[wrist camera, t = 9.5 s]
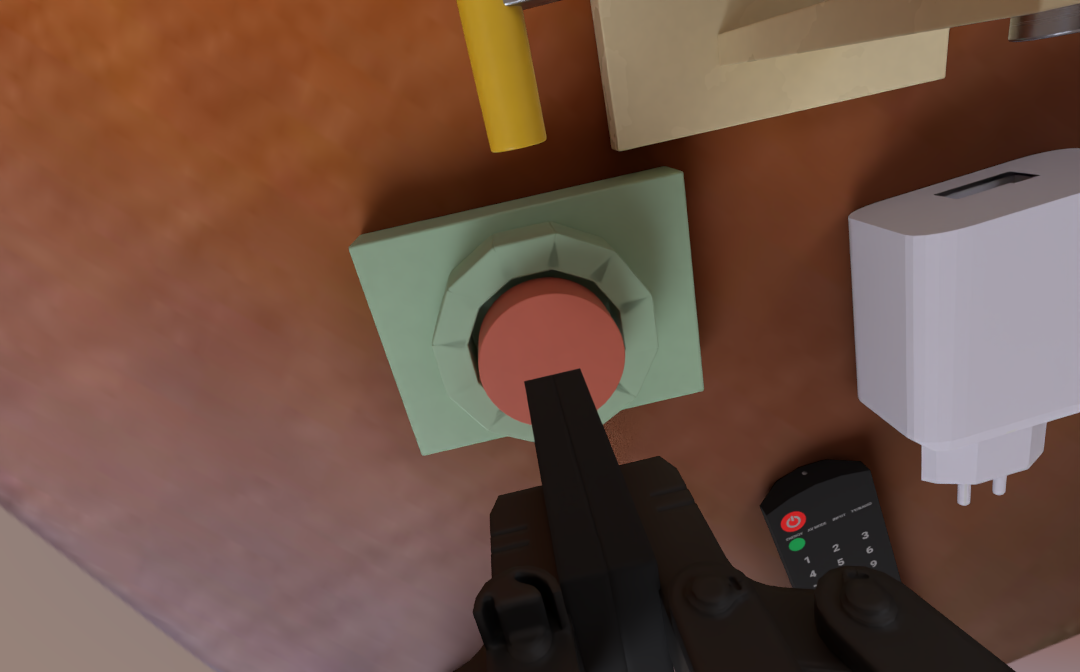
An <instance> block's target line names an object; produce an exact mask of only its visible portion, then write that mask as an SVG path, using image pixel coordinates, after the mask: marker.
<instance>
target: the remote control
mask: <svg viewBox="0 0 1080 672" xmlns="http://www.w3.org/2000/svg"><path fill="white" fill-rule="evenodd" d="M760 508H761V510H762V513H763V515H764V518H765V520H766V523H767V525H768V528H769V530H770V533H771V535H772V538H773V540H774V543H775V545H776V548H777V550H778V553H779V555H780V558H781V560H782V563H783V565H784V568H785V570H786V573H787V575H788V578H789V580H790V582H791V585H792V587H793V588H803V589H816V586H817V582H818V579H819V578H821V577H822V576H823V575H824V574H825V573H826V572H828V571H829V570H831V569H835V568H838V567H842V566H865V567H868V568H871V569H875V570H878V571H881V572H884V573H886V574H888V575H890V576H891V577H893V578H895V579H896V580H898V581H900V582H901V580H900V576H899V572H898V569H897V565H896V562H895V558H894V554H893V551H892V547H891V544H890V540H889V536H888V533H887V529H886V526H885V522H884V518H883V515H882V511H881V508H880V504H879V500H878V497H877V493H876V490H875V486H874V482H873V479H872V475H871V472H870V470H869V469H868V468H867V467H866V466H865V465H864V464H863V463H862V462H861V461H846V460H823V461H820V462H816V463H813V464H810V465H806V466H803V467H800V468H798V469H796V470H795V471H793V472H791V473H790V474H788V475H787V476H785V477H783V478H782V479H780V480H778V481H777V482H776V483H775V485H774V486H773V488H772V489H771V490H770V492H769V493H768V495H767V496H766V498H765V499H764V500H763V502H762V503H761V505H760Z"/></svg>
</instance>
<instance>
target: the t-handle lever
mask: <svg viewBox="0 0 1080 672" xmlns="http://www.w3.org/2000/svg"><path fill="white" fill-rule="evenodd" d="M456 1H457V5H458V10H459V14H460V18H461V23H462V27H463V32H464V36H465V40H466V45H467V49H468V53H469V58H470V62H471V66H472V71H473V75H474V79H475V84H476V88H477V93H478V97H479V101H480V106H481V110H482V114H483V119H484V123H485V127H486V132H487V136H488V140H489V145H490V149H491V151H492V152H495V153H496V152H504V151H510V150H515V149H520V148H524V147H528V146H532V145H536V144H539V143H542V142H544V141H545V140H546V138H547V137H546V132H545V126H544V121H543V116H542V110H541V105H540V100H539V94H538V89H537V84H536V78H535V73H534V68H533V63H532V57H531V52H530V47H529V41H528V36H527V31H526V25H525V20H524V15H523V10H525V9H529V8H533V7H537V6H541V5H545V4H549V3H553V2H557V1H561V0H456Z"/></svg>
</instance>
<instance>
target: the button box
mask: <svg viewBox="0 0 1080 672" xmlns="http://www.w3.org/2000/svg"><path fill="white" fill-rule="evenodd" d="M349 251H350V254H351V257H352V260H353V263H354V265H355V268H356V271H357V274H358V277H359V279H360V282H361V285H362V288H363V291H364V294H365V296H366V299H367V302H368V305H369V308H370V310H371V313H372V316H373V319H374V322H375V325H376V327H377V330H378V333H379V336H380V339H381V341H382V344H383V347H384V350H385V353H386V356H387V358H388V361H389V364H390V367H391V370H392V372H393V375H394V378H395V381H396V384H397V387H398V389H399V392H400V395H401V398H402V401H403V403H404V406H405V409H406V412H407V415H408V418H409V420H410V423H411V426H412V429H413V432H414V434H415V437H416V440H417V443H418V446H419V449H420V451H421V454H422V455H423V456H424V455H429V454H433V453H437V452H442V451H446V450H450V449H455V448H459V447H463V446H468V445H472V444H476V443H481V442H485V441H489V440H493V439H498V438H502V437H506V436H509V437H514V438H518V439H523V440H527V441H532V442H535V441H534V435H533V430H532V425H529V424H526V423H522V422H520V421H517V420H515V419H513V418H511V417H510V416H508V415H506V414H505V413H504V412H502V411H501V410H500V409H498V407H497V406H496V405H495V404H494V403H493V402H492V401H491V400H490V398H489V397H488V396H487V394H486V392H485V390H484V388H483V385H482V383H481V380H480V375H479V368H478V341H479V332H480V328H481V324H482V322H483V319H484V317H485V315H486V313H487V311H488V310H489V308H490V307H491V306H492V304H493V303H494V302H495V301H496V300H497V299H498V298H499V297H500V296H501V295H502V294H503V293H505V292H506V291H507V290H509V289H510V288H512V287H514V286H515V285H518V284H520V283H522V282H525V281H528V280H532V279H537V278H545V277H554V278H562V279H567V280H571V281H573V282H576V283H579V284H580V285H582V286H584V287H586V288H587V289H589V290H590V291H592V292H593V293H594V294H595V295H596V296H597V297H598V298H599V299H600V300H601V302H602V303H603V304H604V305H605V307H606V309H607V310H608V312H609V313H610V315H611V317H612V318H613V320H614V321H615V323H616V325H617V327H618V328H619V330H620V333H621V335H622V338H623V342H624V346H625V365H624V370H623V374H622V377H621V380H620V382H619V384H618V386H617V388H616V390H615V391H614V393H613V394H612V396H611V397H610V398H609V399H608V400H607V402H606V403H605V404H604V405H602V406H601V407H600V408H599V409H598V410H597V412H598V414H599V417H600V419H601V422H602V424H604V423H605V422H607V421H608V420H609V419H610V418H612V417H613V416H614V415H615V414H617V413H618V412H619V411H620V410H623V409H627V408H631V407H636V406H640V405H644V404H649V403H653V402H657V401H662V400H666V399H670V398H675V397H679V396H683V395H688V394H692V393H696V392H700V391H703V390H704V384H703V374H702V363H701V353H700V342H699V332H698V321H697V311H696V300H695V290H694V279H693V268H692V258H691V247H690V237H689V226H688V216H687V205H686V195H685V184H684V174H683V171H680V170H677V169H673V168H670V167H667V166H662V167H658V168H653V169H649V170H644V171H640V172H635V173H631V174H627V175H622V176H618V177H613V178H609V179H605V180H600V181H596V182H591V183H587V184H582V185H578V186H574V187H569V188H565V189H560V190H556V191H552V192H547V193H543V194H538V195H534V196H529V197H525V198H521V199H516V200H512V201H507V202H503V203H499V204H494V205H490V206H485V207H481V208H477V209H472V210H468V211H463V212H459V213H454V214H450V215H446V216H441V217H437V218H432V219H428V220H424V221H419V222H415V223H410V224H406V225H401V226H397V227H393V228H388V229H384V230H379V231H375V232H371V233H366V234H362V235H360V236H359V237H358V238H357V239H356V240H355V241H354V242H353V243H352V244H351V245H350V246H349Z"/></svg>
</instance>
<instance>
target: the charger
mask: <svg viewBox="0 0 1080 672" xmlns="http://www.w3.org/2000/svg"><path fill="white" fill-rule="evenodd" d="M848 221H849V240H850V258H851V277H852V295H853V314H854V332H855V351H856V369H857V388H858V398H859V400H860V401H861V402H862V403H863V404H864V405H866V406H867V407H868V408H870V409H871V410H872V411H873V412H875V413H876V414H877V415H879V416H880V417H881V418H882V419H884V420H885V421H886V422H888V423H889V424H890V425H891V426H893V427H894V428H895V429H897V430H898V431H899V432H901V433H902V434H903V435H904V436H906V437H907V438H909V439H911V440H913V441H915V442H917V443H919V444H921V445H922V480H924V481H928V482H932V483H936V484H958V495H957V502H958V503H959V504H961V505H968V504H969V503H970V494H971V484H979V483H982V482H986V481H989V480H992V479H993V487H992V492H993V493H994V494H997V495H1002V494H1004V493H1005V490H1006V478H1007V475H1009V474H1013V473H1016V472H1019V471H1023V470H1026V469H1029V467H1030V466H1031V465H1032V464H1033V463H1034V462H1035V461H1036V459H1037V458H1038V457H1039V456H1040V455H1041V454H1042V453H1043V450H1044V441H1045V432H1046V424H1047V422H1049V421H1052V420H1055V419H1059V418H1062V417H1065V416H1069V415H1072V414H1075V413H1079V412H1080V148H1069V149H1061V150H1054V151H1049V152H1043V153H1039V154H1035V155H1030V156H1027V157H1023V158H1019V159H1016V160H1013V161H1009V162H1006V163H1003V164H1000V165H996V166H993V167H990V168H987V169H983V170H980V171H977V172H974V173H970V174H967V175H964V176H961V177H957V178H954V179H951V180H948V181H944V182H941V183H938V184H935V185H931V186H928V187H925V188H922V189H918V190H915V191H912V192H909V193H905V194H902V195H899V196H896V197H892V198H889V199H886V200H883V201H879V202H876V203H873V204H871V205H868V206H865V207H863V208H860V209H858V210H856V211H854V212H852V213H851V214H850V215H849V216H848Z"/></svg>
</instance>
